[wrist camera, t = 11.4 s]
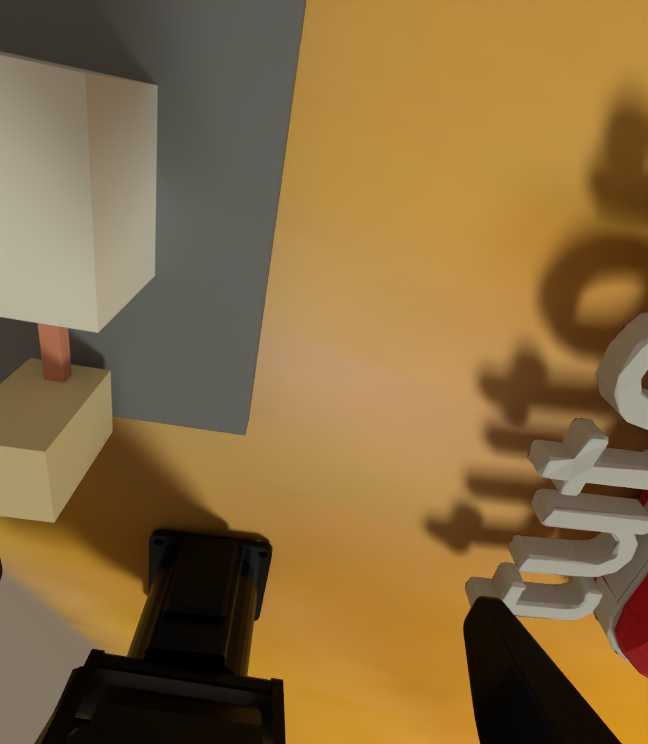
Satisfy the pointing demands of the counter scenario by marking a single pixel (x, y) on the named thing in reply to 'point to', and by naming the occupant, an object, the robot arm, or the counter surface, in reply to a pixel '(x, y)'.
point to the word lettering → (590, 517)
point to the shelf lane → (183, 192)
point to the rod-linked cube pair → (67, 260)
